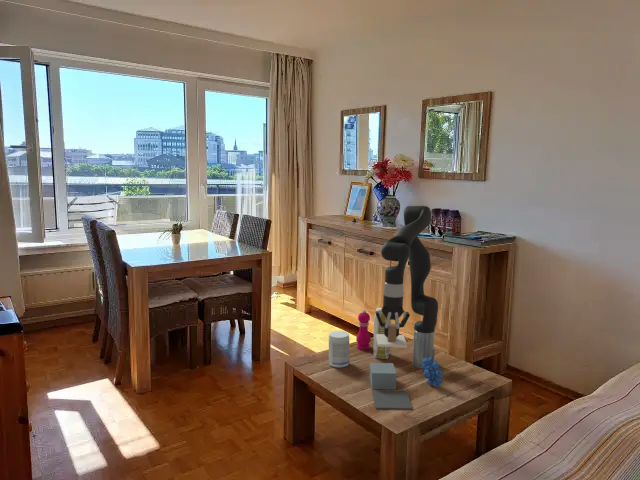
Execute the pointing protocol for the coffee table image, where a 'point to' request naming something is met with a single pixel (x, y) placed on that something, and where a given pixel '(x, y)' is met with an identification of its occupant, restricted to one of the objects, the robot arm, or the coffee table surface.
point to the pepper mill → (363, 331)
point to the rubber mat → (391, 399)
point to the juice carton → (378, 351)
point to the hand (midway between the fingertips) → (391, 336)
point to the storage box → (382, 376)
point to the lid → (391, 338)
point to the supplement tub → (338, 349)
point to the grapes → (432, 371)
